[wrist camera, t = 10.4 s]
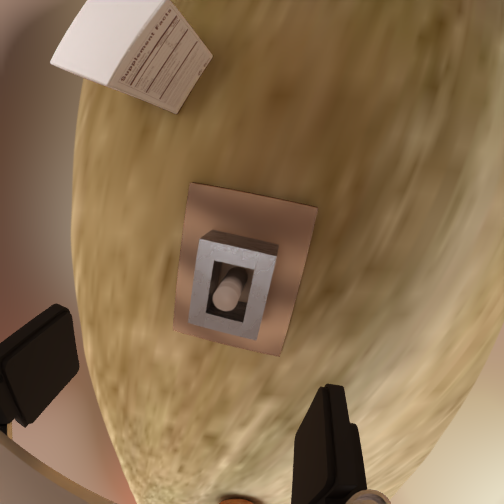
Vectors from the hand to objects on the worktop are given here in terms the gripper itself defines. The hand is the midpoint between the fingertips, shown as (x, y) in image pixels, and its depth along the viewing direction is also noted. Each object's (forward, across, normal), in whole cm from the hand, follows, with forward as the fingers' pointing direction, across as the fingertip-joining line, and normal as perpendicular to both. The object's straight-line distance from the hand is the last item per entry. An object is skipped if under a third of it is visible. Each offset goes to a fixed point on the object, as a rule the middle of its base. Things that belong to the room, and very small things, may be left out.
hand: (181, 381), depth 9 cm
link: (+19, +1, +4) cm, 19 cm away
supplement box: (+21, +12, -15) cm, 28 cm away
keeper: (+20, +1, +4) cm, 20 cm away
